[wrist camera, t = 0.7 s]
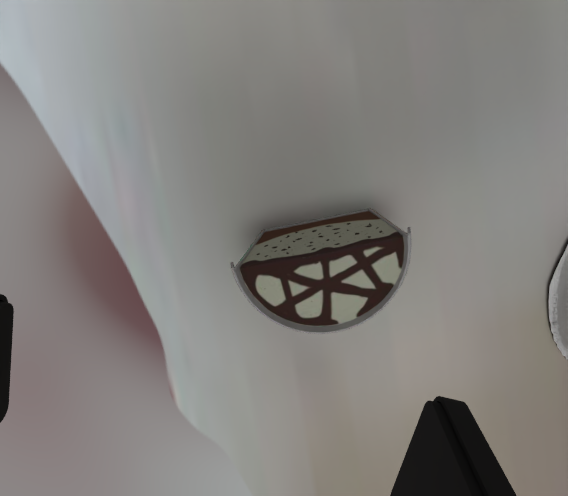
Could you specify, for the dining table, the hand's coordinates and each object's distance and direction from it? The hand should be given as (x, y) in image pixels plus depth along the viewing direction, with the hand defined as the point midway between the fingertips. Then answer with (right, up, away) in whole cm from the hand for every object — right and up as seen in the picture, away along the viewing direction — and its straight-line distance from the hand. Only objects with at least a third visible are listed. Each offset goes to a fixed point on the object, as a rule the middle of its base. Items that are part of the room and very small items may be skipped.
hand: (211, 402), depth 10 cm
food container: (+5, +3, +29) cm, 29 cm away
